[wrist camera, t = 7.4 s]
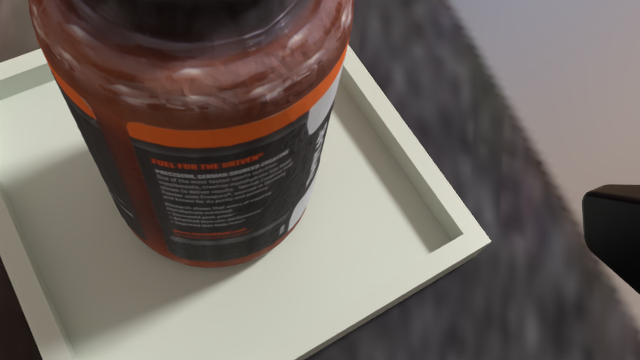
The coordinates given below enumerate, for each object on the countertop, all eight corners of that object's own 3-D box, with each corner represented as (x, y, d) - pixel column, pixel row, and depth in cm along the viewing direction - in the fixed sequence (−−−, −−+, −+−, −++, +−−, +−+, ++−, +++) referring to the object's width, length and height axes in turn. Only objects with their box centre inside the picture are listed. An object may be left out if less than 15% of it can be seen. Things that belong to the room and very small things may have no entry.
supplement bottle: (349, 202, 19) (479, -106, 9) (186, 315, 17) (101, 85, 6) (240, 70, 20) (239, -322, 10) (78, 158, 18) (-124, -223, 8)
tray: (473, 257, 19) (491, 241, 18) (105, 479, 15) (92, 480, 14) (284, -10, 23) (287, -40, 22) (-47, 114, 19) (-69, 87, 18)
